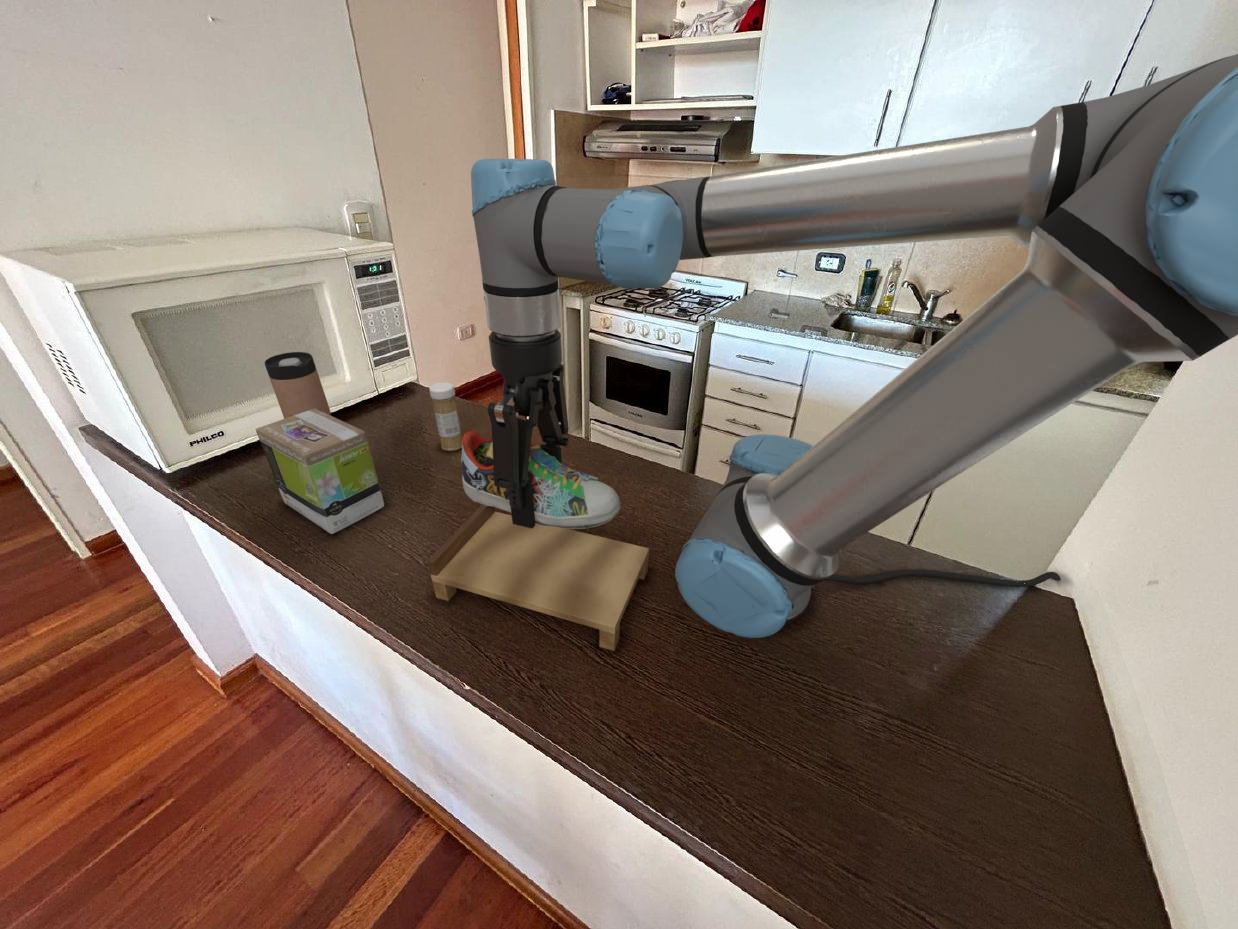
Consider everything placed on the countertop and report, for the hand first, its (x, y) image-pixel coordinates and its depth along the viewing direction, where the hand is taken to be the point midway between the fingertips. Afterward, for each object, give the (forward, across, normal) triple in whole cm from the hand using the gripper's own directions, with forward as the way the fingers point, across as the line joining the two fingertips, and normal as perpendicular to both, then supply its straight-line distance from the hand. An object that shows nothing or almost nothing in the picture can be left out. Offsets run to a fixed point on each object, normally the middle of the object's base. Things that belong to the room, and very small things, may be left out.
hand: (539, 505), depth 65 cm
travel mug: (+14, -16, -57) cm, 61 cm away
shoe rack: (+14, 0, 0) cm, 14 cm away
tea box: (+14, -4, -42) cm, 44 cm away
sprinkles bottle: (+14, -28, -35) cm, 47 cm away
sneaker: (0, 0, 0) cm, 1 cm away
